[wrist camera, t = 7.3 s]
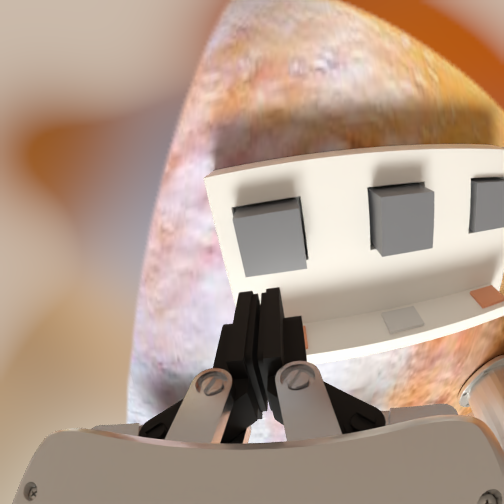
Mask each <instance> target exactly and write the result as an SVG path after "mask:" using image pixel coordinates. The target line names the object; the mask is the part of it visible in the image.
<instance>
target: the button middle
mask: <svg viewBox="0 0 504 504" xmlns="http://www.w3.org/2000/svg"><path fill="white" fill-rule="evenodd" d="M367 190H368V204H369V221H370V242H371V243H372V244H373V245H374V247H375V248H376V249H377V251H378V252H379V253H380V255H381V256H382V257H385V256H391V255H397V254H402V253H408V252H414V251H420V250H425V249H431V248H433V234H434V191H432V190H430V189H428V188H426V187H424V186H422V185H420V184H417V183H410V184H400V185H390V186H381V187H372V188H367Z"/></svg>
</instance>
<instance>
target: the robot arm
mask: <svg viewBox="0 0 504 504" xmlns="http://www.w3.org/2000/svg"><path fill="white" fill-rule="evenodd" d="M458 401H459V404H460V405H461V406H463V407H469V406H470V407H471V409H472V411H473V414H474V416H475V417H471V416H464V415H458V413H457V411H456V410H455V409H454V408H453V407H452V406H450V405H448V404H434V405H425V406H415V407H402V408H390V411H380V410H379V409H377V408H376V407H374V406H372V405H369V404H367V403H365V402H363V401H361V400H359V399H357V398H355V397H353V396H351V395H349V394H347V393H345V392H343V391H341V390H339V389H337V388H335V387H333V386H331V385H329V384H328V383H326V382H324V381H323V379H322V377H321V374H320V371H319V370H318V368H317V367H316V366H315V365H314V364H312V363H310V362H307V356H306V348H305V339H304V331H303V323H302V316H294V317H287V318H285V316H284V310H283V304H282V298H281V292H280V288H279V287H276V288H268V289H266V292H265V293H261V305H260V300H259V296H258V293H257V294H253V291H246V292H239V294H238V299H237V304H236V310H235V315H234V320H233V324H225V325H223V327H222V331H221V335H220V340H219V344H218V348H217V353H216V357H215V361H214V366H213V368H211V369H207V370H204V371H202V372H201V373H199V374H198V375H197V376H196V377H195V378H194V379H193V381H192V383H191V385H190V387H189V389H188V391H187V393H186V395H185V397H184V399H182V400H181V401H179V402H178V403H176V404H175V405H173V406H171V407H170V408H168V409H167V410H165V411H163V412H162V413H160V414H158V415H157V416H155V417H153V418H152V419H150V420H148V421H147V422H146V423H145V424H144V425H140V424H139V423H134V424H119V425H99V426H95V427H94V428H92V429H85V428H76V429H75V428H72V429H65V430H59V431H56V432H53V433H51V434H49V435H48V436H47V437H46V438H45V439H44V440H43V441H42V443H41V444H40V445H39V447H38V449H37V450H36V452H35V453H34V455H33V457H32V459H31V461H30V463H29V465H28V467H27V469H26V471H25V473H24V475H23V478H22V480H21V482H20V485H19V487H18V490H17V493H16V495H15V498H14V500H13V503H12V504H504V355H501V356H498V357H496V358H494V359H492V360H490V361H489V362H487V363H486V364H485V365H483V366H482V367H481V368H480V369H478V370H477V371H476V372H475V373H474V374H473V375H472V376H471V377H470V378H469V379H468V381H467V382H466V383H465V384H464V386H463V387H462V389H461V391H460V392H459V395H458ZM268 402H269V405H270V409H271V411H273V415H274V418H275V419H276V420H277V421H278V422H280V423H281V424H283V425H284V428H285V433H286V438H287V441H286V442H272V443H248V441H249V437H250V433H251V425H252V424H253V423H254V422H255V421H257V419H262V411H267V407H268Z"/></svg>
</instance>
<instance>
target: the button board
mask: <svg viewBox="0 0 504 504" xmlns="http://www.w3.org/2000/svg"><path fill="white" fill-rule="evenodd" d="M482 177H498V178H501V179H504V147H499V146H495V145H488V144H418V145H397V146H381V147H368V148H357V149H347V150H337V151H328V152H320V153H312V154H305V155H298V156H291V157H284V158H278V159H272V160H266V161H260V162H254V163H249V164H243V165H238V166H233V167H228V168H223V169H218V170H214V171H213V172H211V173H210V174H208V175H207V176H206V177H204V183H205V187H206V191H207V195H208V199H209V204H210V208H211V212H212V216H213V220H214V224H215V228H216V232H217V236H218V240H219V244H220V248H221V252H222V256H223V260H224V264H225V268H226V272H227V276H228V279H229V283H230V287H231V291H232V294H233V298H234V302H235V306H236V304H237V299H238V294H239V292H246V291H253V294H257V293H258V296H259V300H260V305H261V293H265V292H266V289H268V288H276V287H279V288H280V292H281V298H282V304H283V310H284V316H285V318H287V317H294V316H302V323H303V331H304V339H305V348H306V356H307V362H310V363H312V364H320V363H327V362H333V361H339V360H345V359H351V358H356V357H361V356H366V355H371V354H376V353H381V352H385V351H390V350H394V349H398V348H402V347H407V346H410V345H414V344H418V343H422V342H426V341H429V340H433V339H436V338H440V337H443V336H446V335H450V334H453V333H456V332H459V331H462V330H465V329H468V328H471V327H474V326H477V325H480V324H482V323H485V322H488V321H491V320H493V319H496V318H498V317H501V316H503V315H504V296H503V295H502V294H501V293H500V292H499V290H500V286H501V282H502V277H503V273H504V227H503V228H497V229H492V230H486V231H480V232H475V233H474V232H473V231H471V230H470V229H469V219H470V198H471V178H482ZM410 183H417V184H420V185H422V186H424V187H426V188H428V189H430V190H432V191H434V234H433V248H431V249H425V250H420V251H414V252H408V253H402V254H397V255H391V256H385V257H382V256H381V255H380V253H379V252H378V251H377V249H376V248H375V247H374V245H373V244H372V243H371V242H370V221H369V204H368V190H367V188H372V187H381V186H390V185H400V184H410ZM290 198H296V200H297V203H298V206H299V210H300V217H301V224H302V232H303V239H304V247H305V255H306V263H307V269H302V270H295V271H288V272H281V273H274V274H267V275H260V276H252V277H245V272H244V268H243V264H242V259H241V255H240V251H239V246H238V242H237V237H236V233H235V228H234V224H233V220H232V219H233V216H234V214H235V212H236V210H237V207H241V206H246V205H252V204H258V203H264V202H271V201H277V200H283V199H290Z"/></svg>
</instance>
